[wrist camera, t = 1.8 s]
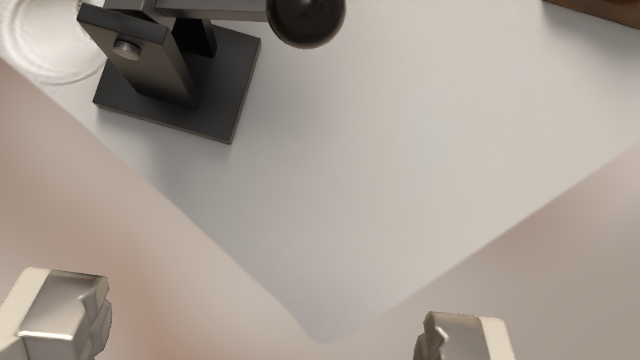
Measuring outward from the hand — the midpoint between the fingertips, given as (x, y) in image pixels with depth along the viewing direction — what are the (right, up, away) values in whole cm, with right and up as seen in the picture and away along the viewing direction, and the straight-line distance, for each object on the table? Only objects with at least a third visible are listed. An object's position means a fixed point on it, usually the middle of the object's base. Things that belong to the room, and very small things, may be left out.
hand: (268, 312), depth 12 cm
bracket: (-9, +10, +30) cm, 33 cm away
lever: (-3, +11, +18) cm, 21 cm away
